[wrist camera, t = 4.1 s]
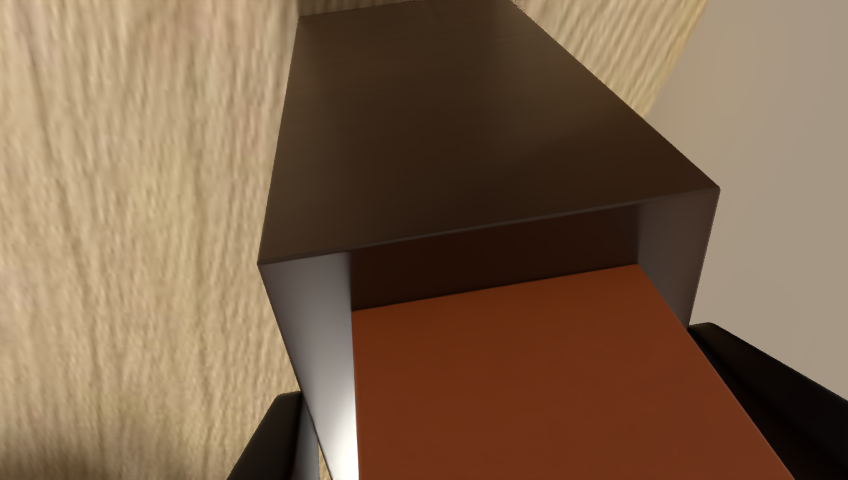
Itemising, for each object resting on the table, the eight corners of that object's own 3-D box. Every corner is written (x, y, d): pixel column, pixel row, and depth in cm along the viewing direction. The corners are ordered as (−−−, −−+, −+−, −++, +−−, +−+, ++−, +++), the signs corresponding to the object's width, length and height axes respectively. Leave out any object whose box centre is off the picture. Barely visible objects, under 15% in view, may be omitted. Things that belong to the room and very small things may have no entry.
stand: (498, -12, 17) (723, 187, 7) (502, 166, 21) (658, 460, 11) (298, 16, 17) (254, 263, 7) (336, 191, 20) (344, 518, 11)
